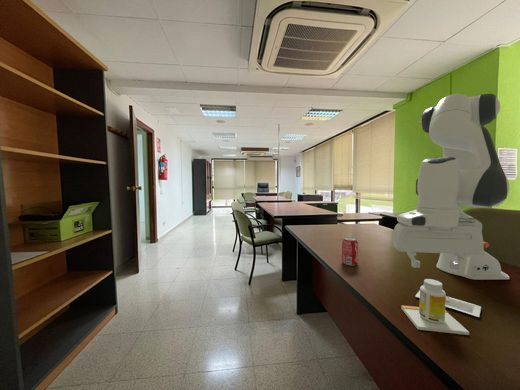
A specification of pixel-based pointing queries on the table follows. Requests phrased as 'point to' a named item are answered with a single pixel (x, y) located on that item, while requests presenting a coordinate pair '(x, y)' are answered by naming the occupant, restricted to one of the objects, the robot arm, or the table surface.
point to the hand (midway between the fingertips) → (434, 267)
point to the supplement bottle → (432, 301)
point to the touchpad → (460, 305)
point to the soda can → (350, 251)
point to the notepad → (421, 324)
